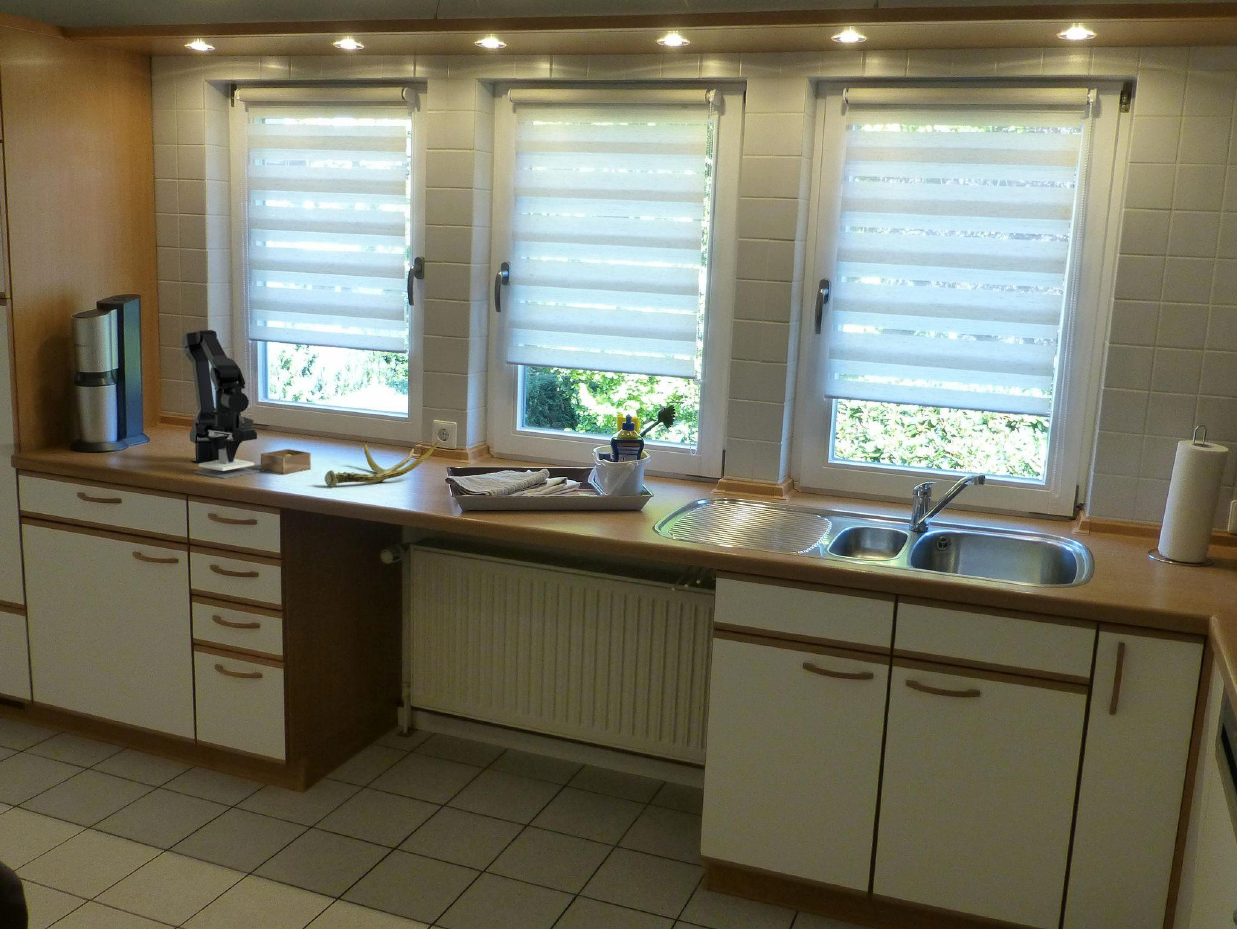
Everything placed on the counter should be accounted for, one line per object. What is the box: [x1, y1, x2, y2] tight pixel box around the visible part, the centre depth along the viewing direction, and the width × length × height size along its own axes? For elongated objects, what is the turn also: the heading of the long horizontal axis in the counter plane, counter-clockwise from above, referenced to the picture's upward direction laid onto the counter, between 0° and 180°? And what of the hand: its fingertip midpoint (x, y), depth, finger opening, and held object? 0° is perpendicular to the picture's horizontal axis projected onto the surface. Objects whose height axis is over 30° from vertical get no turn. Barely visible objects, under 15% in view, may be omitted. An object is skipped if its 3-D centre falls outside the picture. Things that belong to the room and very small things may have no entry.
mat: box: [194, 467, 260, 479], centre depth 314 cm, size 12×13×1 cm
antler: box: [324, 440, 441, 488], centre depth 314 cm, size 27×32×10 cm
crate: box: [260, 448, 312, 476], centre depth 322 cm, size 9×11×5 cm
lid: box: [198, 447, 255, 471], centre depth 313 cm, size 10×12×5 cm
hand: (226, 461), depth 314 cm, fingers closed on lid, 3 cm apart
